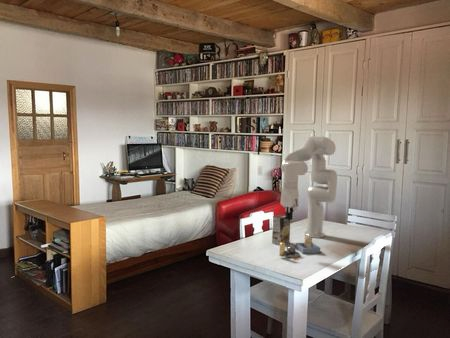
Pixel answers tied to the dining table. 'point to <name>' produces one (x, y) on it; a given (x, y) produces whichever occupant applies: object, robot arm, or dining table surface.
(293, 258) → the crank base
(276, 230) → the coffee box
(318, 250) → the tray
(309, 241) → the stop peg
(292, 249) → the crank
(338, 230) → the dining table surface
